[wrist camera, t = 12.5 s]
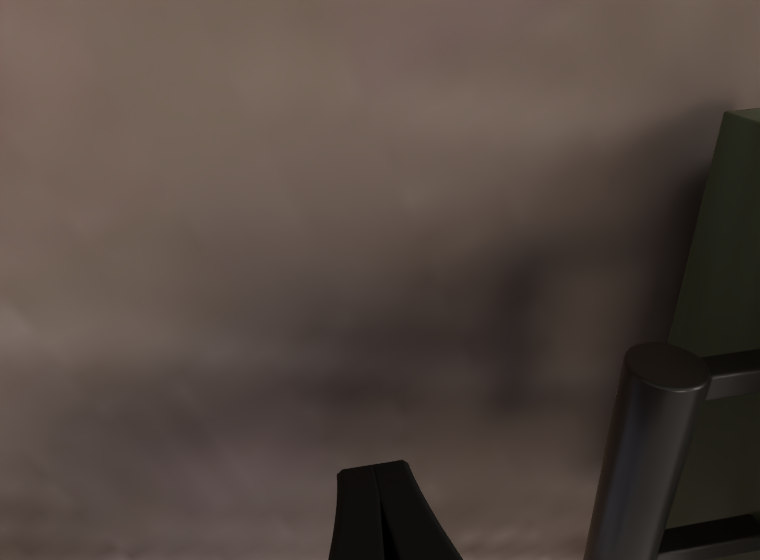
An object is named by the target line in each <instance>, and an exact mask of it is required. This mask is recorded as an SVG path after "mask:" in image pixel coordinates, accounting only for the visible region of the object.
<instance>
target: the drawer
mask: <svg viewBox="0 0 760 560" xmlns="http://www.w3.org/2000/svg"><path fill="white" fill-rule="evenodd" d="M583 560H760V108H757V109H747V110H736V111H727V112H724V114H723V118H722V122H721V126H720V130H719V135H718V139H717V143H716V147H715V151H714V155H713V159H712V163H711V167H710V171H709V176H708V180H707V184H706V188H705V192H704V196H703V200H702V204H701V208H700V212H699V217H698V221H697V225H696V229H695V233H694V237H693V241H692V245H691V249H690V253H689V257H688V262H687V266H686V270H685V274H684V278H683V282H682V286H681V290H680V294H679V298H678V303H677V307H676V311H675V315H674V319H673V323H672V327H671V331H670V335H669V339H668V343H661V342H645V343H640V344H637V345H634V346H633V347H631V348H630V349H629V350H628V351H627V352H626V353H625V355H624V358H623V363H622V368H621V373H620V378H619V383H618V388H617V393H616V398H615V403H614V408H613V413H612V418H611V423H610V428H609V433H608V438H607V443H606V448H605V453H604V458H603V463H602V468H601V473H600V478H599V483H598V488H597V493H596V498H595V503H594V508H593V513H592V518H591V523H590V528H589V533H588V538H587V543H586V548H585V553H584V559H583Z"/></svg>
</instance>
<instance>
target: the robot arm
mask: <svg viewBox="0 0 760 560" xmlns="http://www.w3.org/2000/svg"><path fill="white" fill-rule="evenodd" d="M328 560H463V559H462V557H461V556H460V554H459V553H458V551H457V550H456V548H455V547H454V545H453V544H452V542H451V540H450V539H449V537H448V536H447V534H446V533H445V531H444V530H443V528H442V527H441V525H440V523H439V522H438V520H437V518H436V517H435V515H434V513H433V512H432V510H431V508H430V506H429V505H428V503H427V501H426V499H425V497H424V496H423V494H422V492H421V490H420V488H419V486H418V484H417V482H416V480H415V478H414V476H413V474H412V471H411V469H410V467H409V464H408V463H407V462H405V461H404V460H398V461H392V462H386V463H380V464H374V465H367V466H361V467H355V468H349V469H343V470H341V471H340V472H339V473H338V474H337V506H336V516H335V524H334V531H333V538H332V543H331V549H330V554H329V559H328Z"/></svg>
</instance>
